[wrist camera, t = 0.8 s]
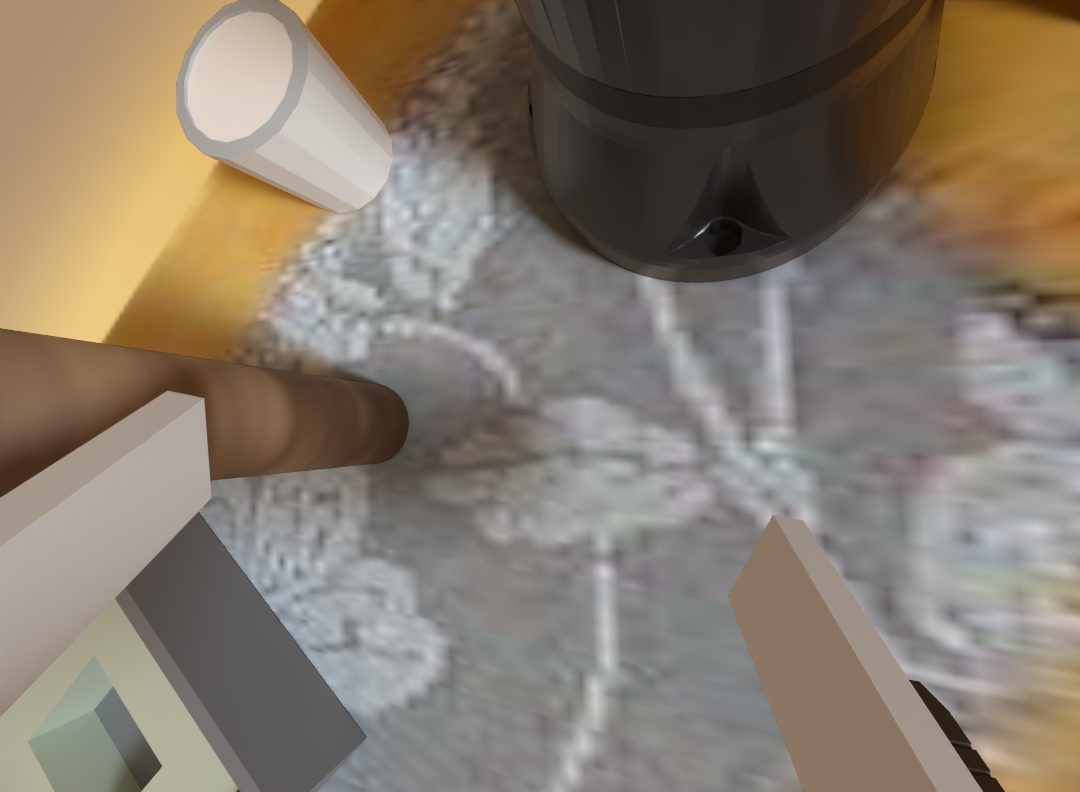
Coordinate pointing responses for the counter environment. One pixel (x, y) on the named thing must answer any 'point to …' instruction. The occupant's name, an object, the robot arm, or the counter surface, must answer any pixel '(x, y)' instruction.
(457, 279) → the counter surface
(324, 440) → the peg
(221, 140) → the white cup
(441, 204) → the counter surface
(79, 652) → the open box
